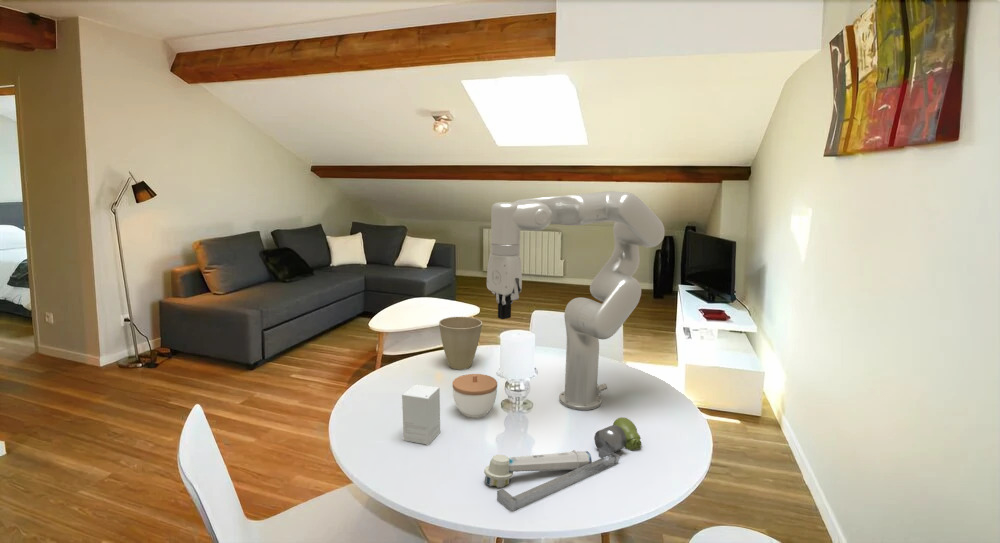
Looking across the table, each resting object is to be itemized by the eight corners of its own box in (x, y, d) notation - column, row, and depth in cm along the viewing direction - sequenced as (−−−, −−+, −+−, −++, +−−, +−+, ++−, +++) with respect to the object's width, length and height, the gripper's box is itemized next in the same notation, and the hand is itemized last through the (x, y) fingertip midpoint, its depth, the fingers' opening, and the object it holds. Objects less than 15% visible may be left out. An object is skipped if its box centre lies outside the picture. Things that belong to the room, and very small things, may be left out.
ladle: (607, 443, 137) (608, 421, 136) (632, 456, 131) (633, 433, 130) (488, 492, 116) (489, 467, 114) (511, 511, 109) (512, 485, 108)
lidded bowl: (476, 398, 162) (476, 364, 160) (506, 412, 153) (506, 376, 151) (443, 411, 154) (443, 375, 151) (472, 426, 145) (473, 388, 143)
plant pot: (464, 377, 179) (464, 331, 176) (430, 367, 187) (430, 323, 184) (490, 364, 191) (490, 320, 188) (456, 355, 199) (456, 314, 196)
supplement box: (441, 432, 142) (440, 387, 139) (428, 445, 135) (427, 398, 132) (416, 427, 144) (415, 383, 142) (402, 440, 137) (401, 394, 135)
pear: (629, 412, 142) (648, 436, 133) (626, 429, 144) (645, 453, 135) (610, 414, 141) (628, 438, 132) (607, 431, 142) (625, 456, 133)
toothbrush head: (594, 457, 123) (491, 460, 115) (589, 484, 124) (487, 489, 116) (584, 446, 128) (484, 448, 120) (579, 472, 129) (480, 475, 121)
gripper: (477, 247, 144) (477, 313, 148) (511, 255, 132) (510, 327, 136) (500, 245, 149) (499, 309, 152) (534, 252, 137) (533, 322, 140)
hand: (504, 317), depth 144 cm, fingers closed
